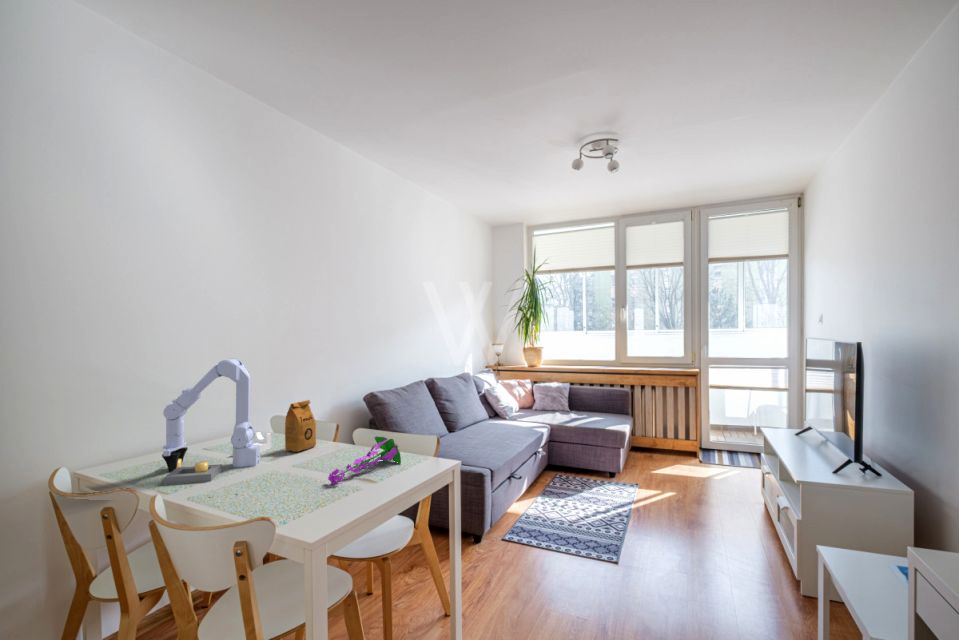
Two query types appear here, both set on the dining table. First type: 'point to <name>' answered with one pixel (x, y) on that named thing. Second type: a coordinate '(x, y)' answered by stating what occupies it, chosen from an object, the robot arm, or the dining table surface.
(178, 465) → the yellow oval lump
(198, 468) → the yellow potato
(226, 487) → the dining table surface
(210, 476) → the grey tray
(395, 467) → the dining table surface
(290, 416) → the coffee package
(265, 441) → the bracket
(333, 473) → the purple green flared piece
